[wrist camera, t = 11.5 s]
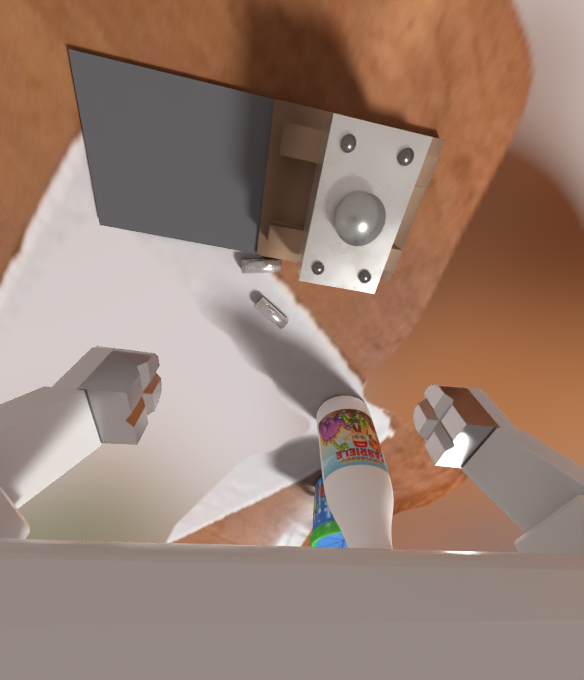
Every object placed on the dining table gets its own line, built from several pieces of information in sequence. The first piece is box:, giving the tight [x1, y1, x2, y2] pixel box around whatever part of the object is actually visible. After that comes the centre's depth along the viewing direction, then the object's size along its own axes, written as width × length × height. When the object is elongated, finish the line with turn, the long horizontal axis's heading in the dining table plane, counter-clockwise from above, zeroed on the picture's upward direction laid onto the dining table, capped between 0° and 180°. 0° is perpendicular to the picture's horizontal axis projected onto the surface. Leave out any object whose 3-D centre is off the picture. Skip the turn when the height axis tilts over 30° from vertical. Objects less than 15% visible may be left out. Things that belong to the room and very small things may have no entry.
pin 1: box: [241, 258, 281, 273], centre depth 28 cm, size 4×1×1 cm
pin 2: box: [254, 297, 289, 329], centre depth 31 cm, size 4×1×1 cm
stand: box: [257, 98, 445, 279], centre depth 24 cm, size 14×12×3 cm
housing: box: [298, 113, 433, 294], centre depth 20 cm, size 10×6×6 cm, turn 169°
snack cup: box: [310, 477, 348, 548], centre depth 46 cm, size 16×10×10 cm
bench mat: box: [68, 49, 275, 254], centre depth 24 cm, size 16×12×1 cm
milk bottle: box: [316, 395, 393, 549], centre depth 32 cm, size 8×8×20 cm
